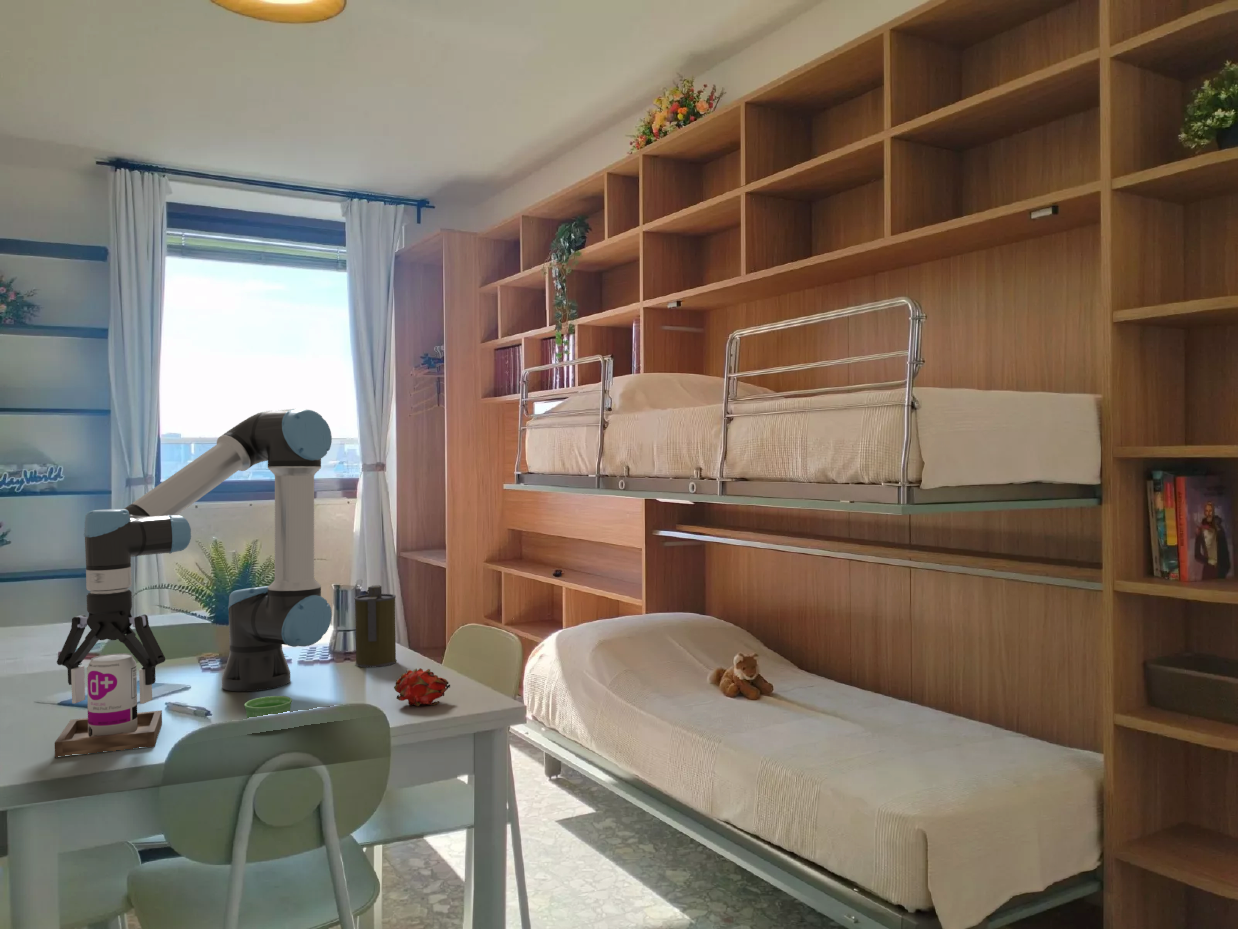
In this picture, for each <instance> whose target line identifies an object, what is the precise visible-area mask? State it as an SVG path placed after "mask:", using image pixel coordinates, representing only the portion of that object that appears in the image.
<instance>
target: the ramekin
mask: <svg viewBox="0 0 1238 929" xmlns="http://www.w3.org/2000/svg"><path fill="white" fill-rule="evenodd" d="M292 703H293V700H292V698H291V697H288V696H286V695H285V696H284V695H271V696H270V695H269V696H263V697H258V698H253V699H250V700H247V702H245V703H244V709H245V714H246V715H245V716H246V719H247V718H249V717H257V716H263V715H268V714H278V713H283V712H287V711H290V712H291V708H292Z"/></svg>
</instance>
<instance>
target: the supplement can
mask: <svg viewBox="0 0 1238 929" xmlns="http://www.w3.org/2000/svg"><path fill="white" fill-rule="evenodd" d="M133 656H134V655H133V654H132V653H121V652H118V653H110V654H109V653H108V654H102V655H98V656H94V657H92V658H90V662H89V663H88V664H87V668H86V678H87V679H86V681H87V682H86V683H87V684H86V685H87V694H86V696H87V718H88V736H89V737H95V736H104V735H113V734H122V733H131V732H135V731H136V730H137V729H138V728H137V713H138V690H137V689H138V679H137V678H138V677H137V675H138V674H137V669H138V668H137V661H136V660H135V657H133Z"/></svg>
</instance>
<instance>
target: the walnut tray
mask: <svg viewBox="0 0 1238 929" xmlns="http://www.w3.org/2000/svg"><path fill="white" fill-rule="evenodd" d="M162 726H163V710H151V711H142V712H137V728H138V729H137V730H136V731H135V732H131V733H122V734H113V735H104V736H95V737H89V736H88V717H83V718H76V719H70V720H69V721H68V723H67V725H66V726H65V727H64V729H63V730H62V731H61V733H60V734H59V735H58V737H57V739H56V740H55V741H54V758H55V757H58V756H65V755H72V754H87V755H89V754H88V753H96V754H98V753H97V752H103V751H113V752H117V751H116V750H121V751H125V750H124V749H130V750H134V749H133V748H138V749H140V748H139V747H147V748H153V747H156V744H157V740H158V737H159V735H160V732H161V729H162Z"/></svg>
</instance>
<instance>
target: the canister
mask: <svg viewBox="0 0 1238 929" xmlns="http://www.w3.org/2000/svg"><path fill="white" fill-rule="evenodd" d="M382 591H383V590H382V585H379V584H378V585H371V586H368V587H367V590H366V592H365V594H361V595H357V596H355V597H354V604H355V605H354V608H355V611H354V612H355V614H354V615H355V666H357V667H361V668H368V669H369V668H382V667H388V666H392V665H394V664H396V663H397V658H396V657H397V656H396V655H397V654H396V653H397V652H396V651H397V650H396V649H397V648H396V647H397V646H396V644H397V643H396V594H391V593H382Z"/></svg>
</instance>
